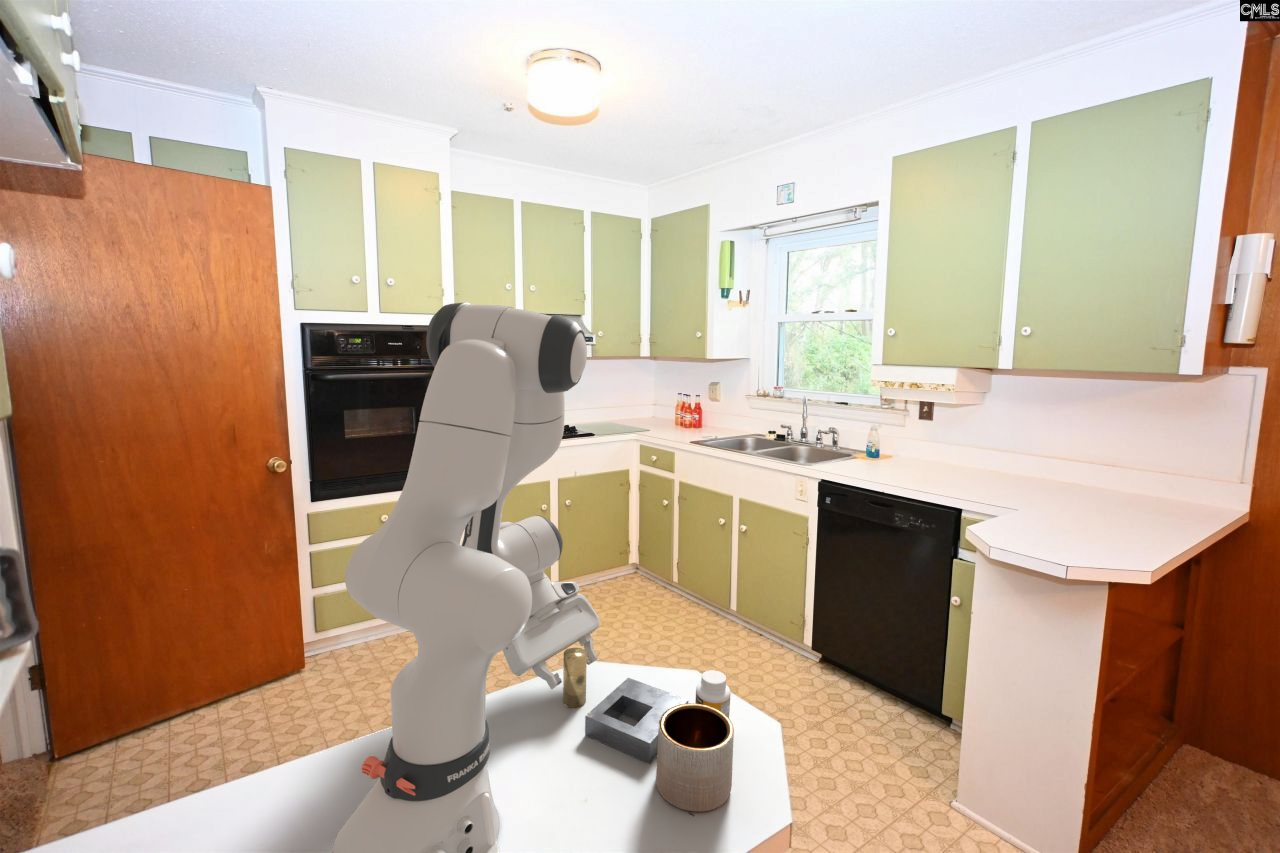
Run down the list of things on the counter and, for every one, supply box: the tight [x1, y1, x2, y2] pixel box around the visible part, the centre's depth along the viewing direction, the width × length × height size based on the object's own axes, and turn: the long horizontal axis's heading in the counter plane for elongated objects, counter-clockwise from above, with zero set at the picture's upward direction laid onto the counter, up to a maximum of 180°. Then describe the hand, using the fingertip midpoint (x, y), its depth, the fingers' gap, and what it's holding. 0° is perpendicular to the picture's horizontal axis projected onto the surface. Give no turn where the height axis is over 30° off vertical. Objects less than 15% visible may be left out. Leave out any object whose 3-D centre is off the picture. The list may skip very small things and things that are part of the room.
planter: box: [655, 702, 735, 813], centre depth 86 cm, size 11×11×10 cm
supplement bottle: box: [694, 669, 732, 719], centre depth 97 cm, size 6×6×10 cm
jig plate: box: [584, 677, 689, 765], centre depth 99 cm, size 13×12×4 cm
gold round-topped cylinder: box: [562, 647, 587, 709], centre depth 105 cm, size 4×4×9 cm
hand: (575, 673), depth 105 cm, fingers open, 8 cm apart
